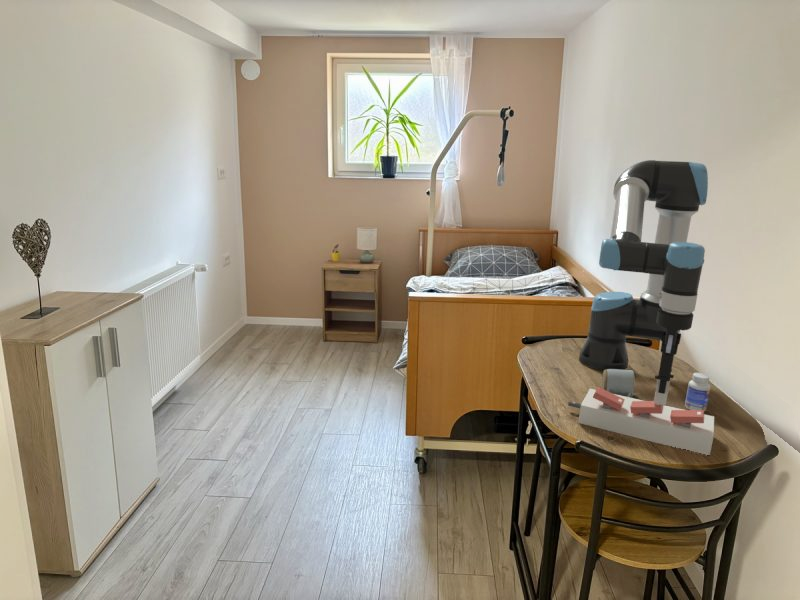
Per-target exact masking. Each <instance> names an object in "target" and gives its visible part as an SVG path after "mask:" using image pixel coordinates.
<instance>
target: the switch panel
mask: <svg viewBox="0 0 800 600" xmlns="http://www.w3.org/2000/svg"><path fill="white" fill-rule="evenodd" d="M596 390H597V389H593V388H589V389H588V392H587V393H586V395H585V396H584V398H583V400H582V402H581V403H579V402H575V401H572V400H571V401H570V400H569V401H568V404H567V406H569V407H573V408H578V409H579V414H578V415H579V417H578V421H577V423H578V424H580V425H583V426H584V425H586V426H588V427H593V428H597V429H600V430H604V431H609V432H613V433H616V434H621V435H624V436H629V437H633V438H635V439H640V440H644V441H647V442H648V441H649V442H651V443H656V444H660V445H664V446H667V445H668V447H671V446H672V448H675V447H676V449H679V448H681V449H680V450H683V449H686V450H685V451H687V450H690V451H689V452H691V451H694V452H693V453H695V452H699V453H702V454H701V455H703V454H706V455H705V456H707V455H710V456H711V451H712V445H713V440H714V438H715V437H714V436H715V435H714V434H715V431H714V430H715V416H714V415H709V414H705V413H704V423H671V419H670V415H671V410H684V409H682V408H677V407H672V406H669V405H666V406H663V407H664V408H663V412H662V414H650V413H631V409H630V407H631V404H632V401H644V400H642V399H638V398H634V397H632V398H630V397H625V396H621V395H617V394H614V395H617V396H619V397H621V398H623V399H625V400H624V403H623V405H622V407H621V409H620V411H619V410H617V409H615V408H613V407H611V406H609V405H607V404H605V403H603V402H601V401H599V400H597V399H595V398H593V396H594V394H595V391H596ZM699 453H698V454H699Z"/></svg>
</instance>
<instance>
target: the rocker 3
mask: <svg viewBox="0 0 800 600" xmlns="http://www.w3.org/2000/svg"><path fill="white" fill-rule="evenodd" d="M704 414H705V411H704V410H689V409H683V410H671V415H670V419H671V423H704Z"/></svg>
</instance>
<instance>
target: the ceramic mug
mask: <svg viewBox="0 0 800 600" xmlns="http://www.w3.org/2000/svg"><path fill="white" fill-rule="evenodd" d="M635 384H636V383H635V372H634V370H632V369H625V370H619V369H606V370H603V372H602V378H601V388H602V389H604V390H606V391H608V392H610V393H612V394H617V395H621V396H625V397H630V398H633V396H634V392H635V386H636V385H635Z"/></svg>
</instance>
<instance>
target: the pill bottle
mask: <svg viewBox="0 0 800 600" xmlns="http://www.w3.org/2000/svg"><path fill="white" fill-rule="evenodd" d="M709 382H710V375H708V374H707V373H706V374H705V373H702V372H694V373H693V374H692V379H691V380H690V381H689V382H688V384H687V385H688V386H687V391H686V396H685V403H684V406H685V408H686V410H704V412H706V411H707V409H708V408H707V407H708V404H709V397H710V391H711V387H712V386H711V384H710V383H709Z"/></svg>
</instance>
